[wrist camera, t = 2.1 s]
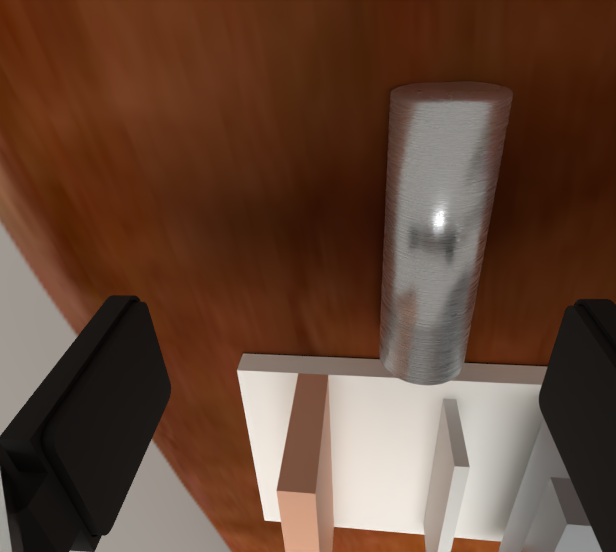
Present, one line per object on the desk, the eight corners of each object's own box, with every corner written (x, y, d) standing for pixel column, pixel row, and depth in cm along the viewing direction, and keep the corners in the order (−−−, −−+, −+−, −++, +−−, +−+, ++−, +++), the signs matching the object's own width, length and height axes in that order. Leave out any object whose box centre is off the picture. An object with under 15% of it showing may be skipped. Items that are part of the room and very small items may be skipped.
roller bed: (1031, 387, 16) (1337, 576, 11) (845, 550, 22) (987, 722, 17) (242, 353, 19) (197, 484, 14) (268, 502, 25) (242, 631, 20)
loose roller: (412, 78, 13) (522, 83, 12) (396, 319, 18) (473, 342, 17) (372, 100, 11) (500, 109, 10) (365, 367, 16) (450, 397, 15)
